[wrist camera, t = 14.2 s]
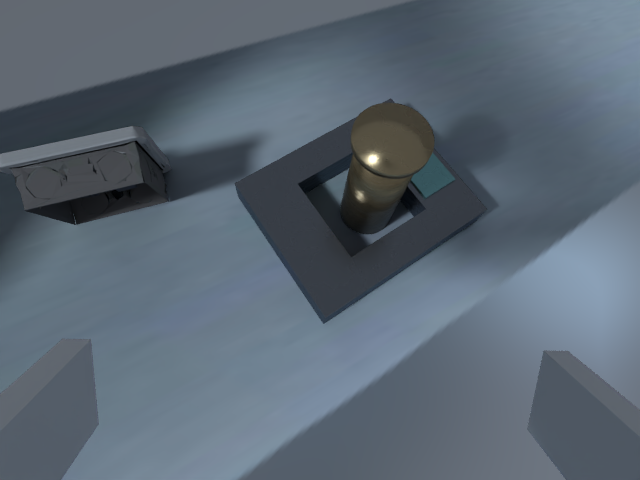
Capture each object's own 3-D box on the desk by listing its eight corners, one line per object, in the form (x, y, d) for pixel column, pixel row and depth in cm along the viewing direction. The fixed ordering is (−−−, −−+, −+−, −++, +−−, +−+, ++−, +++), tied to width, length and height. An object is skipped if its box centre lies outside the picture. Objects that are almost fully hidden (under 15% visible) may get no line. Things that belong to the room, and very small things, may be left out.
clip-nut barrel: (330, 232, 36) (344, 164, 25) (341, 178, 37) (358, 95, 27) (391, 244, 35) (430, 181, 25) (398, 190, 37) (438, 111, 27)
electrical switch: (171, 162, 37) (135, 101, 28) (184, 216, 36) (151, 170, 27) (60, 188, 36) (-15, 132, 27) (70, 245, 34) (-5, 206, 26)
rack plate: (323, 323, 33) (325, 317, 30) (238, 197, 36) (234, 182, 34) (475, 221, 37) (488, 208, 34) (385, 116, 40) (391, 96, 37)
